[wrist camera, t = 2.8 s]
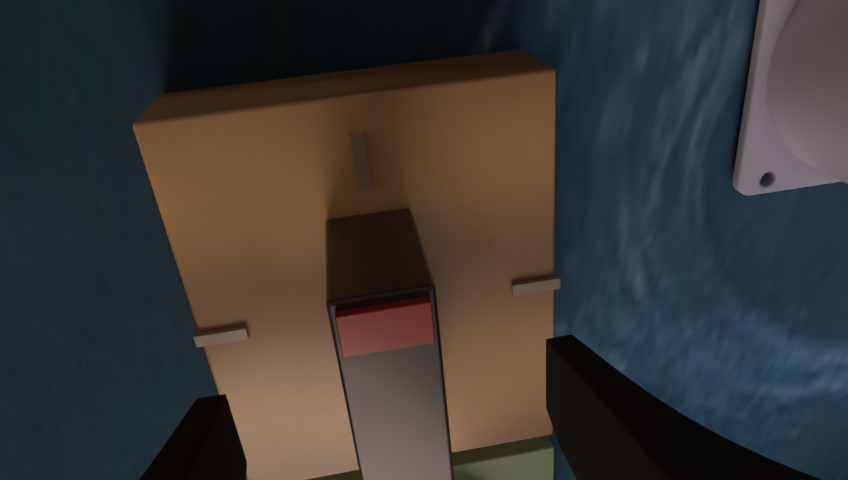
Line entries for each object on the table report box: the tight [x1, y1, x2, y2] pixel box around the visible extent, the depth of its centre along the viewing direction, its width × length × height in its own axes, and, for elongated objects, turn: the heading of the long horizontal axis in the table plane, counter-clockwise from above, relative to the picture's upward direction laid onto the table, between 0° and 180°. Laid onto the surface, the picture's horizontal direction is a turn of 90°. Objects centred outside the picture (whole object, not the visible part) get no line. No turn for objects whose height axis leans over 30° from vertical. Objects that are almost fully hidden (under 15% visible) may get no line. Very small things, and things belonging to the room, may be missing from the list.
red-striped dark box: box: [325, 208, 455, 480], centre depth 15 cm, size 6×2×4 cm, turn 5°
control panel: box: [133, 49, 560, 480], centre depth 18 cm, size 12×10×3 cm
